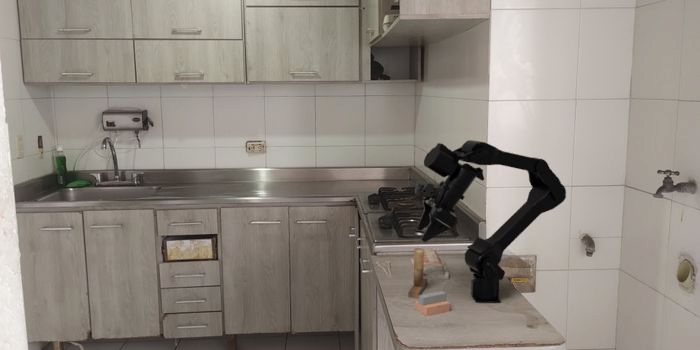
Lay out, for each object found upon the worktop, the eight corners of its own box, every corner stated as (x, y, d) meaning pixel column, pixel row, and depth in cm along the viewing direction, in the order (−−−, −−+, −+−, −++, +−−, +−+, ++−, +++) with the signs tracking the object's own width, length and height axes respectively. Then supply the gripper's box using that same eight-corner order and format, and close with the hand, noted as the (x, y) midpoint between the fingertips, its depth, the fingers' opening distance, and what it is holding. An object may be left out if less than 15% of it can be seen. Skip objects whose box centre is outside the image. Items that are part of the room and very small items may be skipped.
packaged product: (450, 264, 165) (415, 264, 165) (449, 280, 165) (415, 280, 166) (441, 247, 183) (410, 247, 183) (441, 261, 183) (410, 261, 184)
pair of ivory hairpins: (374, 264, 181) (374, 258, 180) (389, 264, 181) (389, 258, 181) (384, 287, 164) (384, 280, 163) (400, 286, 164) (400, 279, 164)
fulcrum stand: (437, 304, 146) (438, 289, 145) (449, 310, 141) (450, 295, 141) (414, 308, 142) (415, 293, 142) (426, 315, 138) (426, 300, 137)
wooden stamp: (427, 284, 161) (428, 244, 159) (417, 298, 150) (418, 256, 148) (418, 283, 162) (419, 243, 160) (408, 297, 151) (408, 255, 149)
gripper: (424, 161, 151) (391, 209, 154) (435, 176, 133) (397, 229, 136) (458, 183, 152) (425, 230, 155) (473, 201, 134) (436, 254, 137)
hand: (420, 235), depth 146 cm, fingers open, 9 cm apart
